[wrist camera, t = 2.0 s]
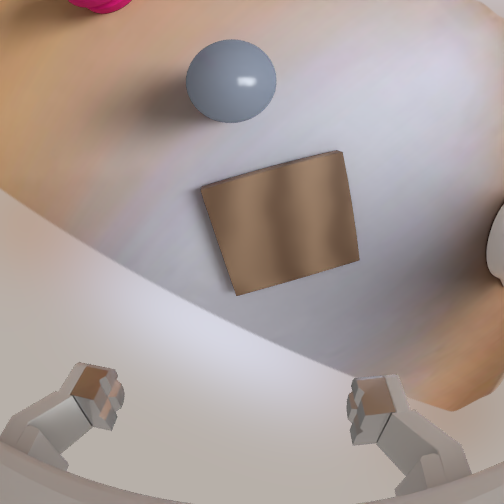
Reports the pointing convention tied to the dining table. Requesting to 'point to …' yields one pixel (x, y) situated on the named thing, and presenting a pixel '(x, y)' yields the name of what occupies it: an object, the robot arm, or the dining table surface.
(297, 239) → the walnut board
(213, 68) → the spice jar
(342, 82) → the dining table surface
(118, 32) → the dining table surface
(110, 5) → the pepper mill
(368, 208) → the dining table surface
